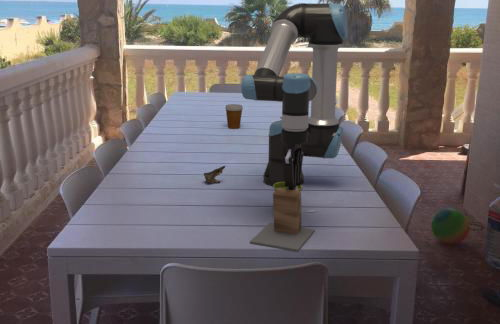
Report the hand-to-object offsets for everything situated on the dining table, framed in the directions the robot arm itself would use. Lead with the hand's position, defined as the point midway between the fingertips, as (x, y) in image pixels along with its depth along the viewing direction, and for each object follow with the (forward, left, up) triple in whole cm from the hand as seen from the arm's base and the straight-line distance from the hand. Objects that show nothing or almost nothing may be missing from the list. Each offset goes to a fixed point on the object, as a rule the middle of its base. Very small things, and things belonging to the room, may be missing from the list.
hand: (292, 207), depth 174 cm
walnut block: (+3, 0, -6) cm, 7 cm away
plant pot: (-14, -6, -7) cm, 17 cm away
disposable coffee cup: (-128, -75, -7) cm, 148 cm away
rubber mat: (+7, 0, -7) cm, 10 cm away
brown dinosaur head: (-33, -41, -7) cm, 53 cm away
